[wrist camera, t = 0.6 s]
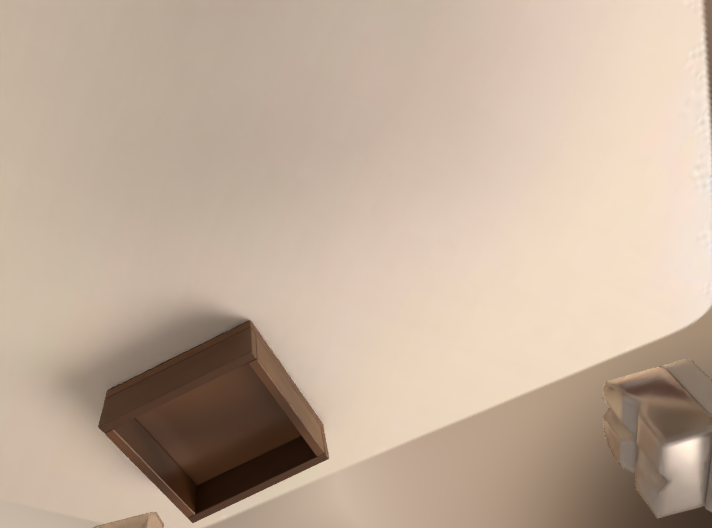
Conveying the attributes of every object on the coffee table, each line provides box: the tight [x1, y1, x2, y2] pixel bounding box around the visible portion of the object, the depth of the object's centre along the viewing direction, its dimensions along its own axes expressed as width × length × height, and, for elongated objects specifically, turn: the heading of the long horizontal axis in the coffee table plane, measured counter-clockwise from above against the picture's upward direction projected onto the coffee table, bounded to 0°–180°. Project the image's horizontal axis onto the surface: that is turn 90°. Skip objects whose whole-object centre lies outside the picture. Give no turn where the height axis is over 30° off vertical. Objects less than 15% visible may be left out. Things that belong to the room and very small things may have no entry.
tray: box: [98, 321, 329, 523], centre depth 33 cm, size 8×8×3 cm
